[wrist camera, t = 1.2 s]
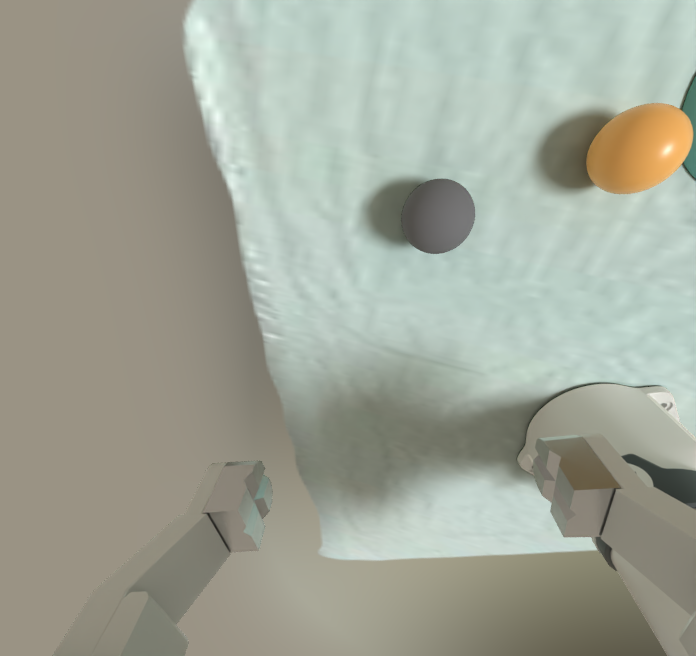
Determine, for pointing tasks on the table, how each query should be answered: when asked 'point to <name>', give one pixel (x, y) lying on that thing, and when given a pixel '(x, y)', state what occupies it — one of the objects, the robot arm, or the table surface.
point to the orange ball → (639, 148)
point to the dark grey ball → (438, 216)
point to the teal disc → (692, 108)
